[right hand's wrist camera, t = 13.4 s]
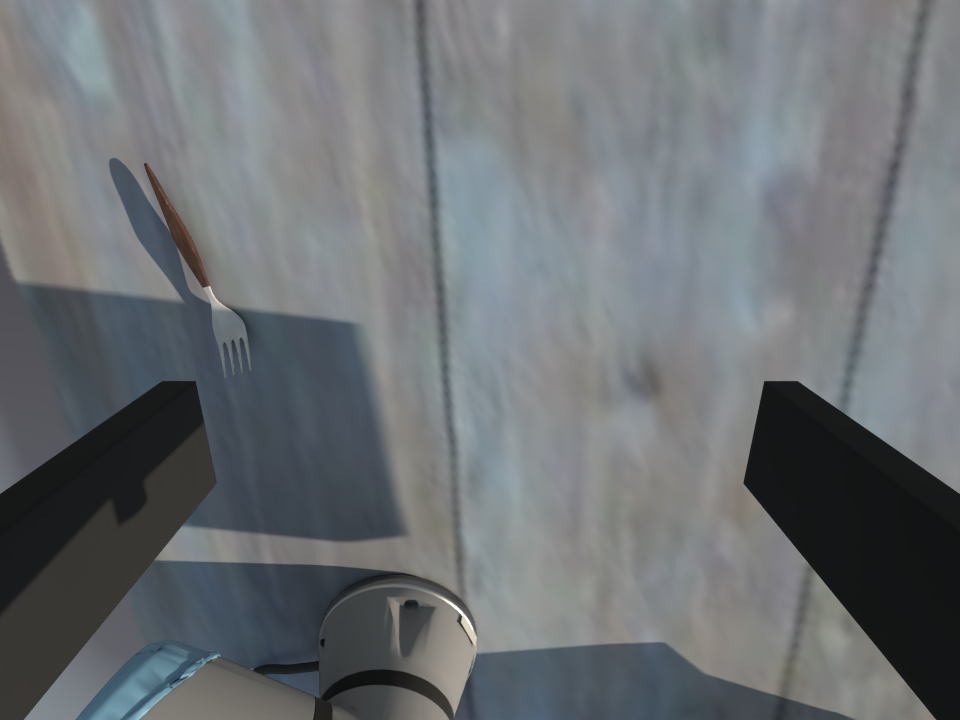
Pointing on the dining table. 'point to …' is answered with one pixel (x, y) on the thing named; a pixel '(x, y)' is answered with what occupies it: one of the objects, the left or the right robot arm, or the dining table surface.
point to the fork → (203, 282)
